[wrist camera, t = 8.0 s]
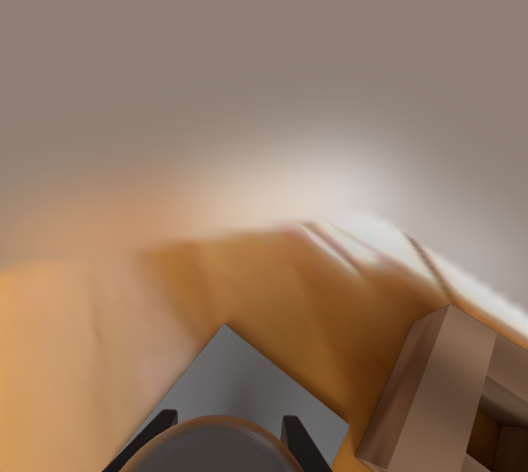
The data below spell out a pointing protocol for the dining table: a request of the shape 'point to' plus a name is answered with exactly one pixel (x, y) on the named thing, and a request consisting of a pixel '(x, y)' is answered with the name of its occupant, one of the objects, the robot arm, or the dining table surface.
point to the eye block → (449, 399)
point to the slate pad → (249, 393)
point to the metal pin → (214, 448)
